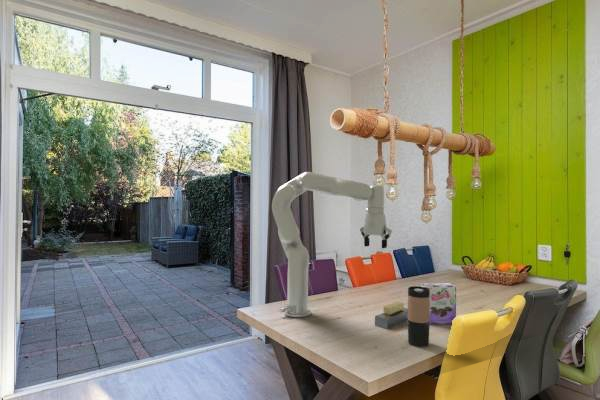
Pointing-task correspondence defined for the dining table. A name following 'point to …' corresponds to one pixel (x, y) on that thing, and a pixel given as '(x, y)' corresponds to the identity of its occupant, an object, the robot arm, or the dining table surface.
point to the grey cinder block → (391, 319)
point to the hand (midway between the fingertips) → (375, 247)
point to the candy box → (441, 302)
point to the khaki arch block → (393, 308)
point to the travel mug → (418, 316)
